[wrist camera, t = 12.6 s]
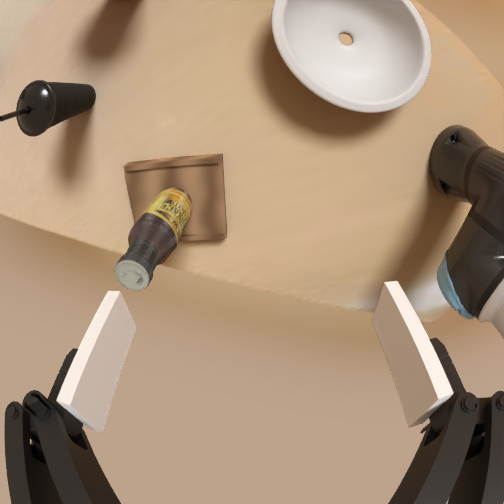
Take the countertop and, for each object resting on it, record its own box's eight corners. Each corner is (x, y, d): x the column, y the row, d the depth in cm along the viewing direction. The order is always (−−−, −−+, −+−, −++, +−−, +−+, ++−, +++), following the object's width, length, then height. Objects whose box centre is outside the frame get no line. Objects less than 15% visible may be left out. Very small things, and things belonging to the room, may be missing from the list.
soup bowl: (422, 98, 34) (445, 103, 29) (297, 124, 38) (306, 130, 33) (382, -23, 22) (400, -33, 16) (244, -9, 26) (244, -24, 20)
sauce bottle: (200, 210, 44) (175, 293, 27) (169, 225, 45) (132, 309, 28) (180, 176, 40) (138, 244, 24) (149, 193, 42) (96, 266, 25)
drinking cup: (106, 111, 35) (26, 138, 18) (71, 124, 35) (-10, 158, 19) (100, 70, 31) (17, 74, 14) (64, 85, 31) (-19, 102, 14)
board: (222, 154, 41) (221, 157, 38) (227, 231, 48) (226, 239, 46) (128, 162, 40) (122, 167, 38) (142, 235, 48) (137, 242, 46)
